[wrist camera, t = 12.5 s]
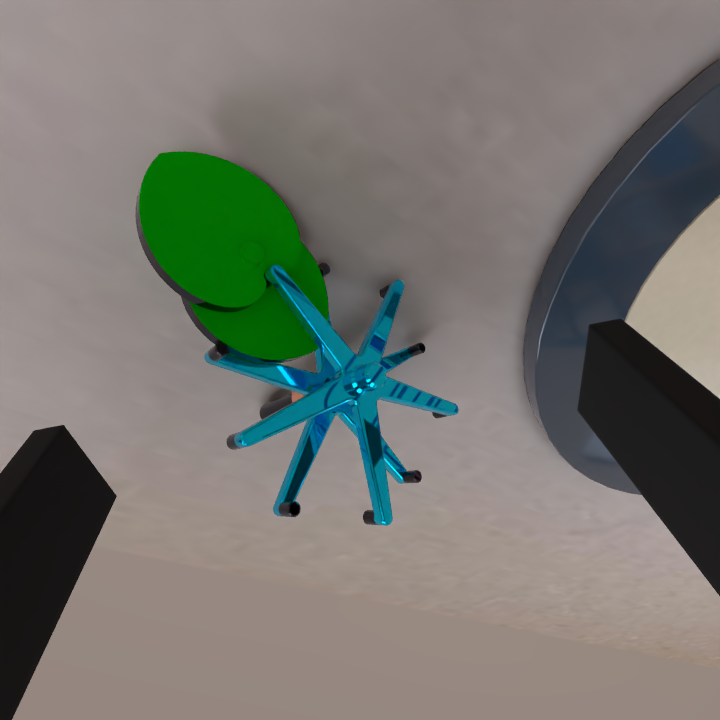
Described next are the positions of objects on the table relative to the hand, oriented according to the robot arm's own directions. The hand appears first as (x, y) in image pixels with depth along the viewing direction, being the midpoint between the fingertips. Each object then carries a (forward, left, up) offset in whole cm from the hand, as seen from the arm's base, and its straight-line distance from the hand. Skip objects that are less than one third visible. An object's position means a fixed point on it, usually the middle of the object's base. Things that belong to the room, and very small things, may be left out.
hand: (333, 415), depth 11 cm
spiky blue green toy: (+1, 0, -6) cm, 6 cm away
